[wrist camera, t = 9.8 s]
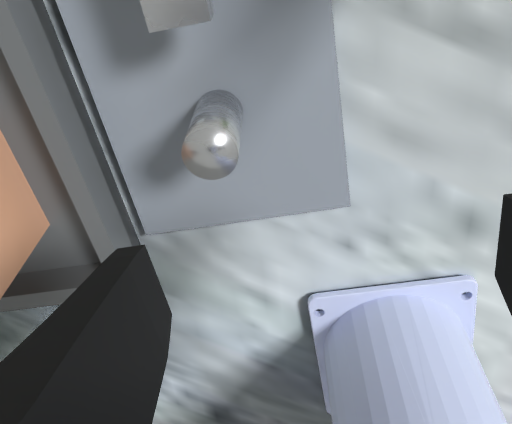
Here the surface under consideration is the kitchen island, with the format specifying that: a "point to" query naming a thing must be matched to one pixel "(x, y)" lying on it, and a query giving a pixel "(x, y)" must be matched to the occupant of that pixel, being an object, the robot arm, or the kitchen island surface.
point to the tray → (55, 161)
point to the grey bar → (202, 98)
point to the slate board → (218, 78)
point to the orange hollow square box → (16, 217)
